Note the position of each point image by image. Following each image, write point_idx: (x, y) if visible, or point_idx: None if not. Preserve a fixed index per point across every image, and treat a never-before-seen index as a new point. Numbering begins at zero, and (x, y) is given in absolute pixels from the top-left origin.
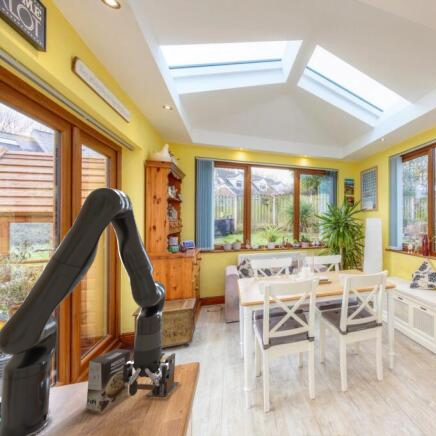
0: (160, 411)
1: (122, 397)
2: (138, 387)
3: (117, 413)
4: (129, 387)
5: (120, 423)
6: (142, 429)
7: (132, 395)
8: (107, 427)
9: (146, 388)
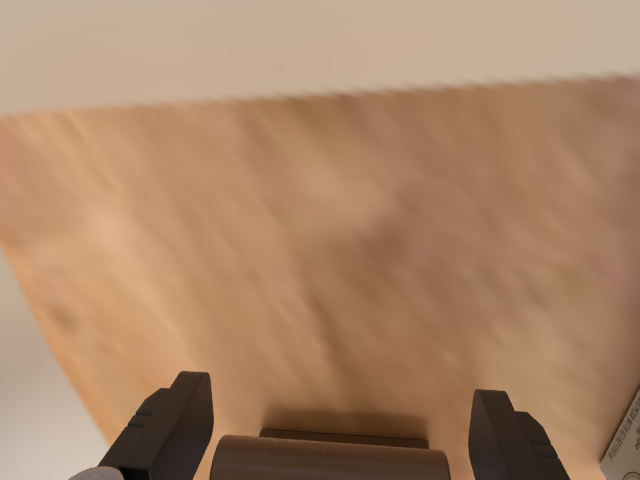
0: (215, 313)
1: (631, 444)
2: (415, 465)
3: (558, 287)
4: (564, 476)
5: (451, 178)
6: (217, 122)
7: (476, 392)
8: (536, 128)
9: (293, 449)
